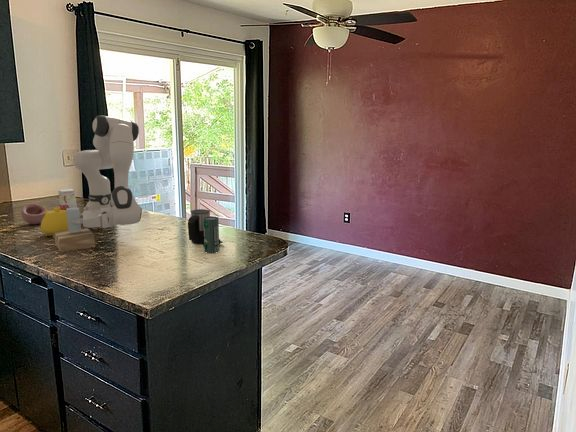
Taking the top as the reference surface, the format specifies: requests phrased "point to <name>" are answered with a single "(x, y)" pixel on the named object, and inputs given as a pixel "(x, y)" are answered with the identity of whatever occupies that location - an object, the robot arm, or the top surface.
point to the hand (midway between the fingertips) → (71, 219)
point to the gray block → (73, 214)
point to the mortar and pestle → (33, 213)
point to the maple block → (74, 240)
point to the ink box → (67, 199)
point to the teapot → (54, 221)
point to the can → (211, 234)
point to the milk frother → (197, 226)
